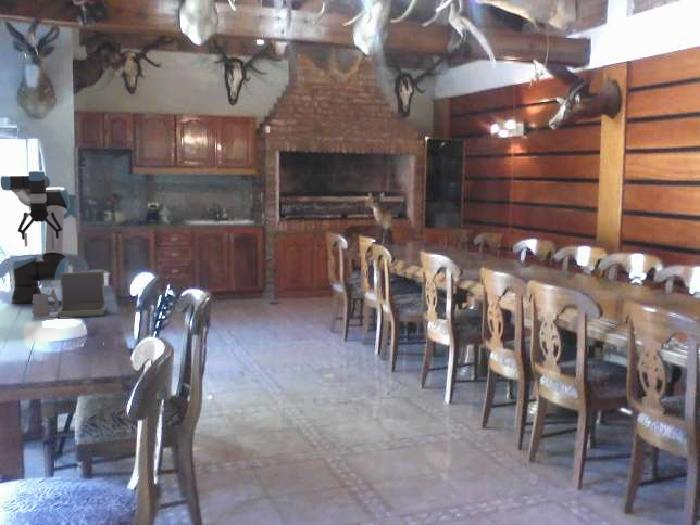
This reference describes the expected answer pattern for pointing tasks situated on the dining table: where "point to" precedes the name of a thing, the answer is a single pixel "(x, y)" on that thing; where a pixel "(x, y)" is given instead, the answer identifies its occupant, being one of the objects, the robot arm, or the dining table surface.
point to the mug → (44, 304)
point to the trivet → (48, 315)
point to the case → (82, 294)
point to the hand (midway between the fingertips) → (41, 245)
